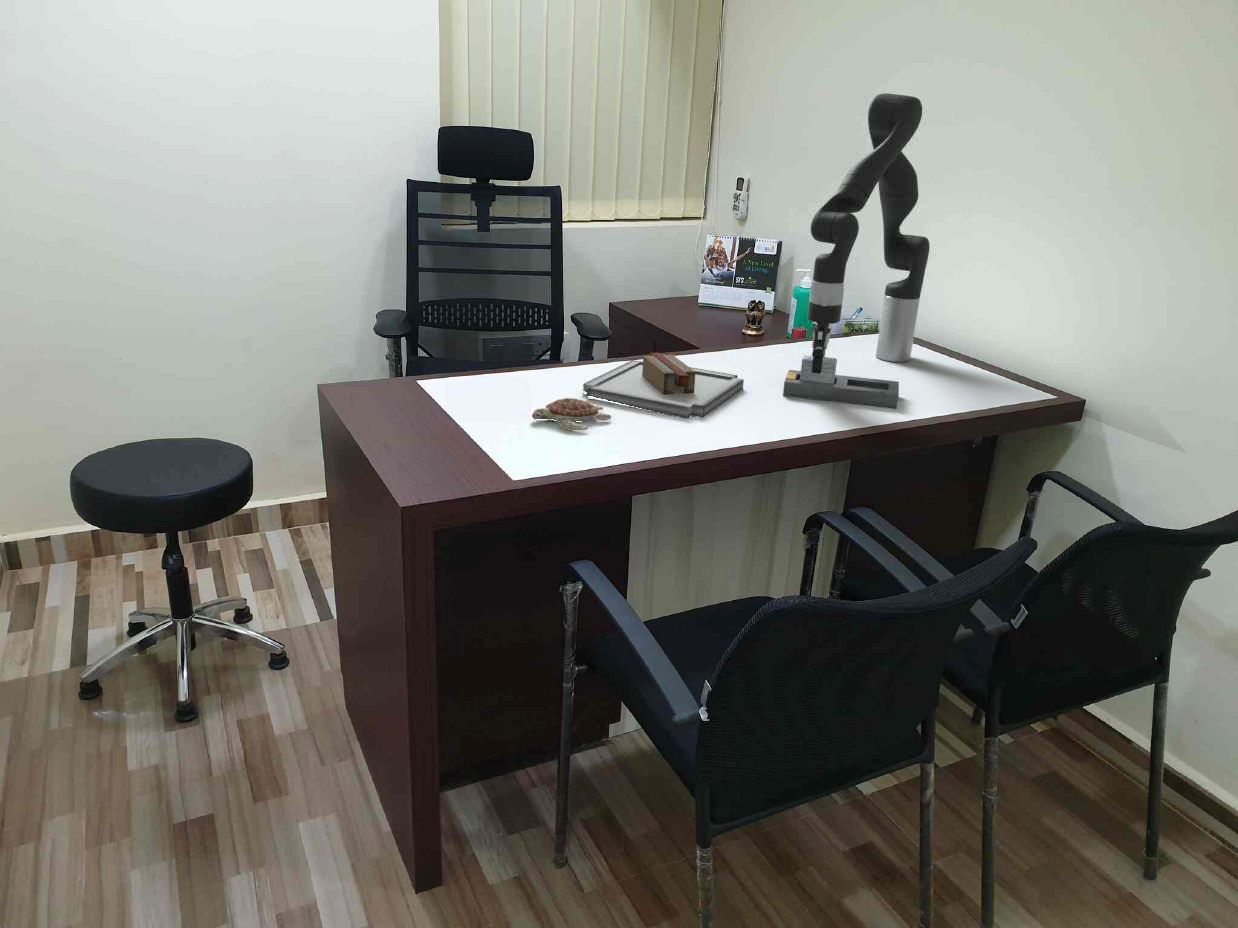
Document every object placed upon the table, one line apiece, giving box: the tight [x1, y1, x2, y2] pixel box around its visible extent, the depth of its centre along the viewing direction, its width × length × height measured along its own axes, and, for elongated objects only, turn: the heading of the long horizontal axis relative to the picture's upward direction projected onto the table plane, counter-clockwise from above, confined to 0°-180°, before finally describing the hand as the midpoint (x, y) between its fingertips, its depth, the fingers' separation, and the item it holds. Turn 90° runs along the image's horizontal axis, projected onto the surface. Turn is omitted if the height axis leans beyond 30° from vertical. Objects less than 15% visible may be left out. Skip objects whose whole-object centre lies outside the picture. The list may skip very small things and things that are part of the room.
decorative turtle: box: [531, 397, 612, 431], centre depth 194 cm, size 18×17×5 cm
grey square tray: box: [582, 352, 745, 419], centre depth 214 cm, size 30×30×8 cm
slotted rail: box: [782, 369, 900, 410], centre depth 217 cm, size 11×26×4 cm, turn 74°
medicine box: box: [800, 354, 838, 384], centre depth 217 cm, size 8×4×9 cm, turn 73°
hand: (817, 368), depth 217 cm, fingers open, 8 cm apart
